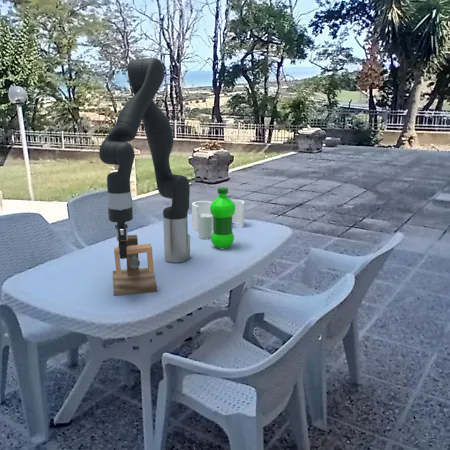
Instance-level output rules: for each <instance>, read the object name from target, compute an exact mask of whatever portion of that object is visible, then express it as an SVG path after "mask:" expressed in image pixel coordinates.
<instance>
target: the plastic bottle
mask: <svg viewBox="0 0 450 450" xmlns="http://www.w3.org/2000/svg"><path fill="white" fill-rule="evenodd" d="M217 194H218V197H217V198H215V199H214V200H213V201H211V202H212V204H211V206H210V212H211V214H212V215H213V230H212V237H211V238H210V241H211V243H212V245H213V246H215V247H216V248H217V247H218V248H217V249H219V248H226V249H228V248H227V247H229V248H230V247H231V246H232V245H233V243H234V240H235V235H234V232H233V224H232V216H233V215H234V212H235V204H234V202H232V201H231V200H232V199H230V198H229V197H228V195H227V194H229V188H228V187H223V186H222V187H218V188H217Z"/></svg>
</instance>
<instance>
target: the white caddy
mask: <svg viewBox="0 0 450 450" xmlns="http://www.w3.org/2000/svg"><path fill="white" fill-rule="evenodd" d="M230 200H231V201H232V202H234V204H235V212H234V215H233V216H232V223H233V222H239V223H241V225H240V227H241V226H244V227H245V201H244V200H242V199H230ZM212 202H213V201H209V200H198V201H194V202H192V203H191V223H192V225H191V226H192V227H191V228H193V229H194V230H193V229H192V230H193V231H195V232H198V215H199V214H211V212H210V206H211V204H212ZM211 215H212V214H211ZM212 231H213V216H212Z"/></svg>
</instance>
